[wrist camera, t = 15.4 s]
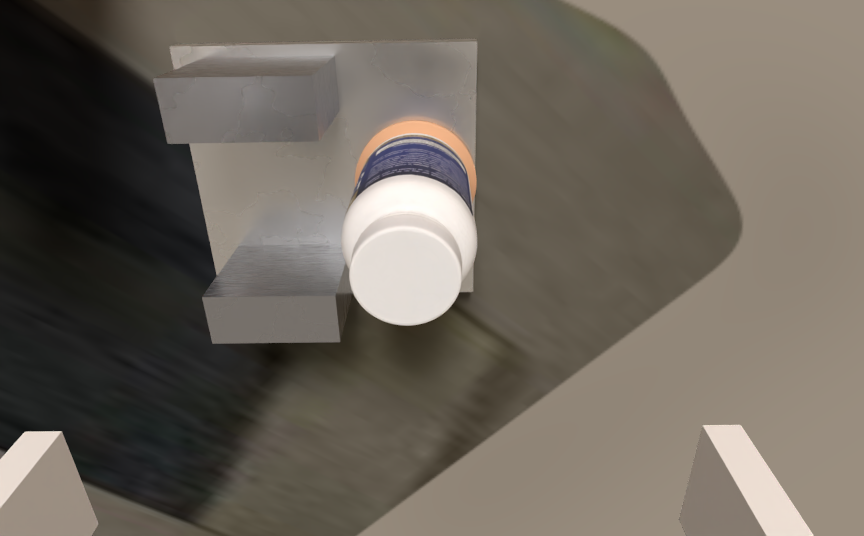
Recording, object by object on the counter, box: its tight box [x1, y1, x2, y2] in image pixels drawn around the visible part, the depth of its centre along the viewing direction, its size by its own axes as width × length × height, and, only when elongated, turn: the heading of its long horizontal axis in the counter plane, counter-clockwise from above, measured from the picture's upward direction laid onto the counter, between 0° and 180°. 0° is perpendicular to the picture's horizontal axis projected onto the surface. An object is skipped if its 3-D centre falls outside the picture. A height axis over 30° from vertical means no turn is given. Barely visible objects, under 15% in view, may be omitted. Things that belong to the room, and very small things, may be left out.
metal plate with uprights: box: [153, 38, 477, 343], centre depth 28 cm, size 14×13×7 cm
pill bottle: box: [341, 133, 477, 326], centre depth 25 cm, size 5×5×10 cm
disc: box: [355, 120, 476, 203], centre depth 29 cm, size 6×6×1 cm
